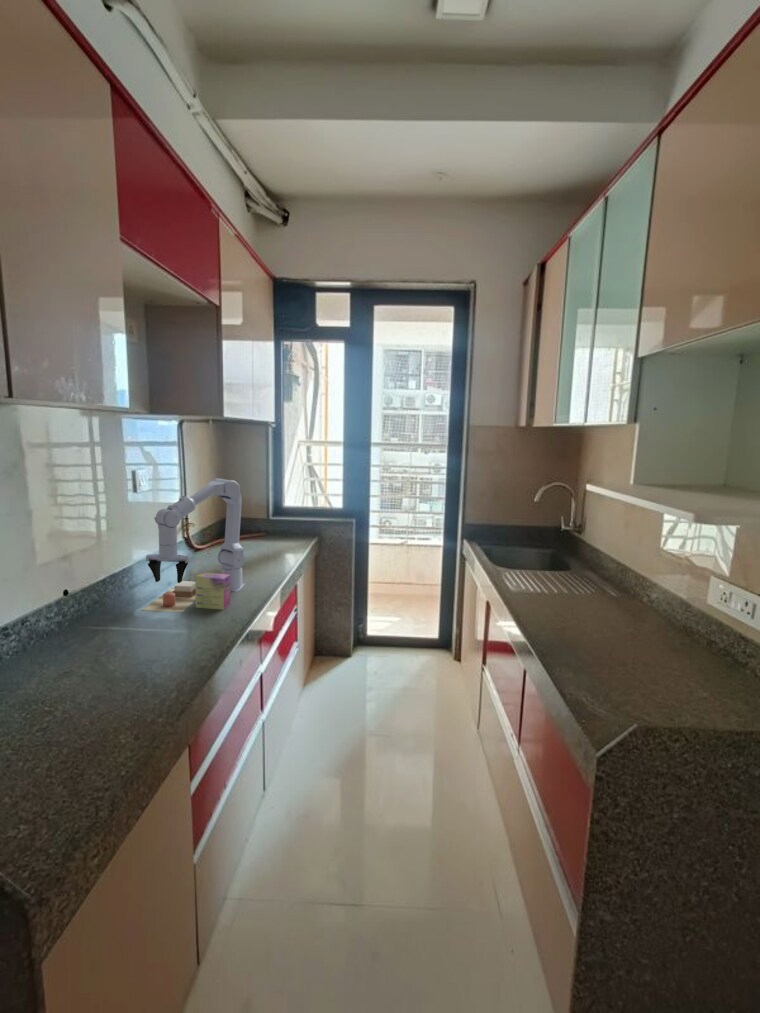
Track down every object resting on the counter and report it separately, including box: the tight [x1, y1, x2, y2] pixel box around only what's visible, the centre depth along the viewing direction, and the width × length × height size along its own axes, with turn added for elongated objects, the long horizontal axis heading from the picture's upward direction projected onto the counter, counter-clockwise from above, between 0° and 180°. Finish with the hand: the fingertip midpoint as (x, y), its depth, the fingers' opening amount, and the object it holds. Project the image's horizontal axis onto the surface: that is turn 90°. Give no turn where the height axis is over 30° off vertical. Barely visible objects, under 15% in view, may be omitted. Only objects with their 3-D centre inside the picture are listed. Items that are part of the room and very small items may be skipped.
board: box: [140, 587, 196, 613], centre depth 172 cm, size 24×14×1 cm, turn 0°
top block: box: [173, 580, 196, 592], centre depth 177 cm, size 6×6×2 cm
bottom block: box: [173, 588, 196, 597], centre depth 177 cm, size 7×7×2 cm
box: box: [195, 571, 231, 611], centre depth 166 cm, size 10×6×12 cm, turn 84°
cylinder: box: [162, 592, 176, 607], centre depth 165 cm, size 4×4×4 cm
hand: (168, 581), depth 164 cm, fingers open, 7 cm apart
